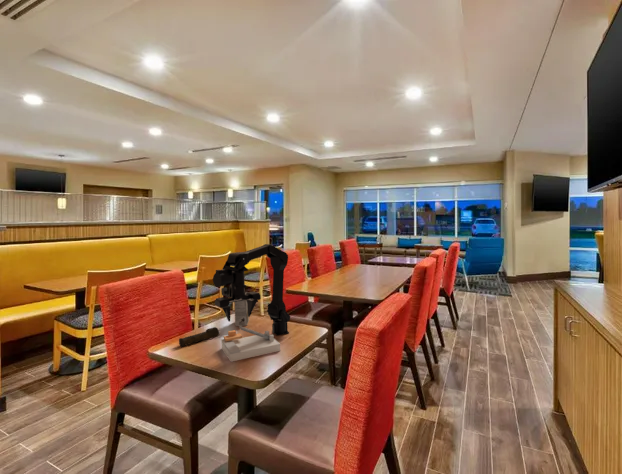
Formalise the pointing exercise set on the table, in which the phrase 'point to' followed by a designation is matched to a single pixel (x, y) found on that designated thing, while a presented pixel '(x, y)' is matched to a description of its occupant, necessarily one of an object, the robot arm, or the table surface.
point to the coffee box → (241, 313)
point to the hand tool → (199, 336)
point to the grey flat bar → (254, 332)
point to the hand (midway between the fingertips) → (239, 318)
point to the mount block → (249, 347)
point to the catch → (232, 336)
